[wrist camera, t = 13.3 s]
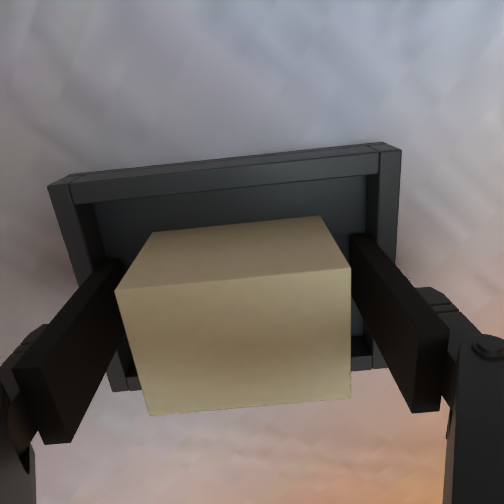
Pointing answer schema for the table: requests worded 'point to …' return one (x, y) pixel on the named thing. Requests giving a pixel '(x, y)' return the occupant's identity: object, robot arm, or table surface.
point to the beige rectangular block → (239, 316)
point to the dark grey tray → (231, 213)
